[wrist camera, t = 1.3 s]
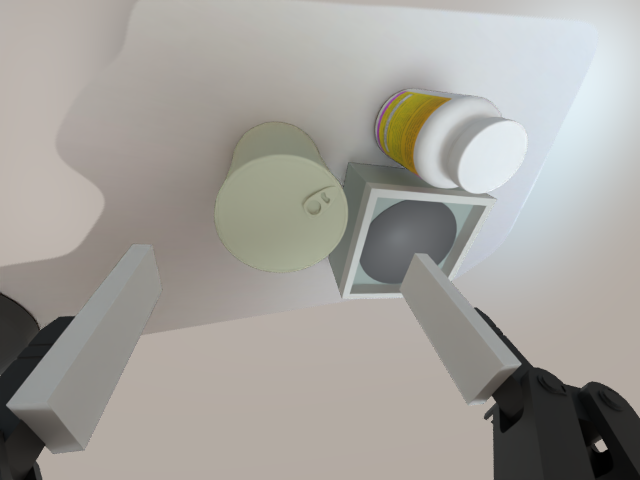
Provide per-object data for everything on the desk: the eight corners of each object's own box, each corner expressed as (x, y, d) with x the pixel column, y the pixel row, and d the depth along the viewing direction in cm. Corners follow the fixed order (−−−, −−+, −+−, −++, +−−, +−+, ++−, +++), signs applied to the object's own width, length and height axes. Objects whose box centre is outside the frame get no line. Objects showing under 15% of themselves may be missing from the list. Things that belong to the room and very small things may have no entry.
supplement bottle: (369, 158, 28) (431, 211, 18) (376, 88, 25) (460, 101, 14) (426, 155, 29) (517, 203, 19) (441, 87, 26) (564, 99, 15)
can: (336, 179, 29) (372, 236, 19) (269, 222, 30) (271, 296, 21) (288, 101, 24) (304, 122, 14) (211, 157, 25) (177, 212, 16)
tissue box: (328, 258, 35) (341, 298, 29) (348, 162, 28) (371, 188, 22) (414, 260, 38) (443, 297, 32) (451, 173, 31) (496, 199, 25)
